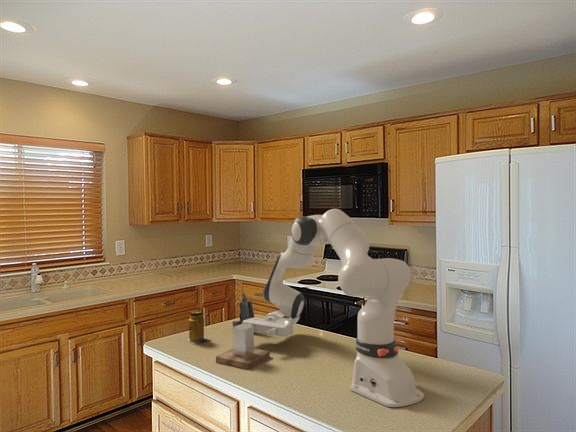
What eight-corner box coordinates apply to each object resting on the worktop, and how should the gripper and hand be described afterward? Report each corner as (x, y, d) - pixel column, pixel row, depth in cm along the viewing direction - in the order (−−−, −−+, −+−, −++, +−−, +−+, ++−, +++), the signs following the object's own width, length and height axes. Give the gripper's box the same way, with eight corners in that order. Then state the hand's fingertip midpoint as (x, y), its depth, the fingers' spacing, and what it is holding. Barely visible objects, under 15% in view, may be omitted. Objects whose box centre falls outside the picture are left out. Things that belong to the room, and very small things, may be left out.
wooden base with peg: (269, 356, 154) (269, 337, 154) (248, 369, 142) (248, 349, 142) (239, 350, 161) (238, 332, 161) (215, 362, 148) (215, 342, 148)
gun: (232, 296, 196) (251, 292, 186) (238, 332, 193) (257, 330, 183) (227, 296, 195) (246, 293, 184) (233, 333, 192) (252, 331, 181)
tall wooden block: (253, 352, 152) (253, 325, 152) (245, 357, 148) (245, 329, 147) (241, 350, 155) (241, 323, 155) (233, 354, 150) (232, 327, 150)
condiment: (185, 340, 174) (185, 311, 174) (204, 336, 179) (204, 308, 179) (192, 344, 168) (192, 315, 168) (211, 340, 174) (211, 311, 173)
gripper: (253, 312, 176) (233, 320, 164) (296, 318, 166) (278, 327, 154) (253, 327, 176) (233, 336, 164) (296, 334, 166) (278, 344, 154)
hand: (255, 331), depth 159 cm, fingers open, 8 cm apart
